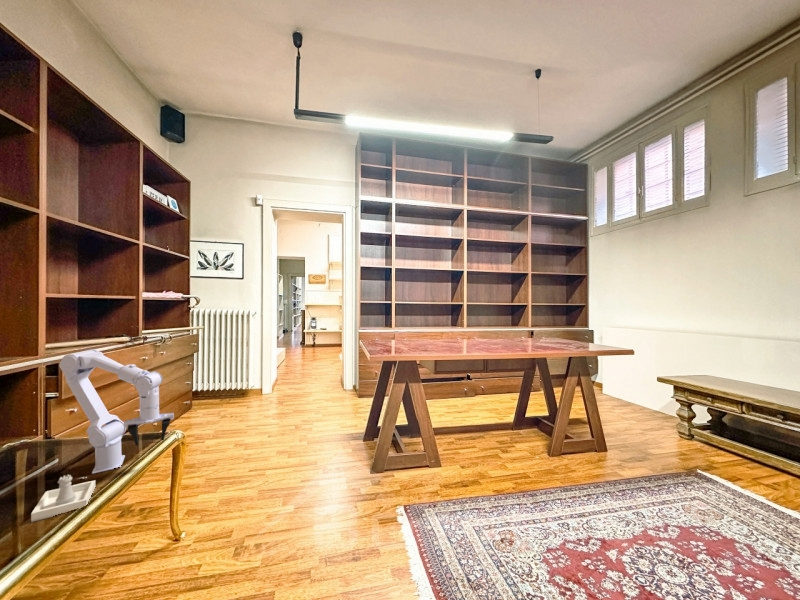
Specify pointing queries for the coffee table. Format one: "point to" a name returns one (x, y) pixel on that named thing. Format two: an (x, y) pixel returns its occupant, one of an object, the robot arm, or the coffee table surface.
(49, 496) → the tray
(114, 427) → the robot arm
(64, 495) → the rook chess piece
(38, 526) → the coffee table surface
